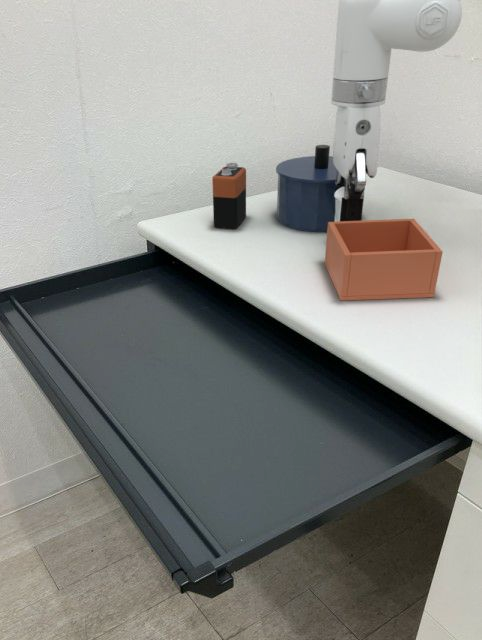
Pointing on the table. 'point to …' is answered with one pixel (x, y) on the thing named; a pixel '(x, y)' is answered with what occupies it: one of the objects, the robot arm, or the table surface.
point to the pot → (305, 204)
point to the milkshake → (338, 203)
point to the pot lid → (310, 167)
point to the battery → (229, 196)
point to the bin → (381, 259)
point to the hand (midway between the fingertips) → (346, 215)
